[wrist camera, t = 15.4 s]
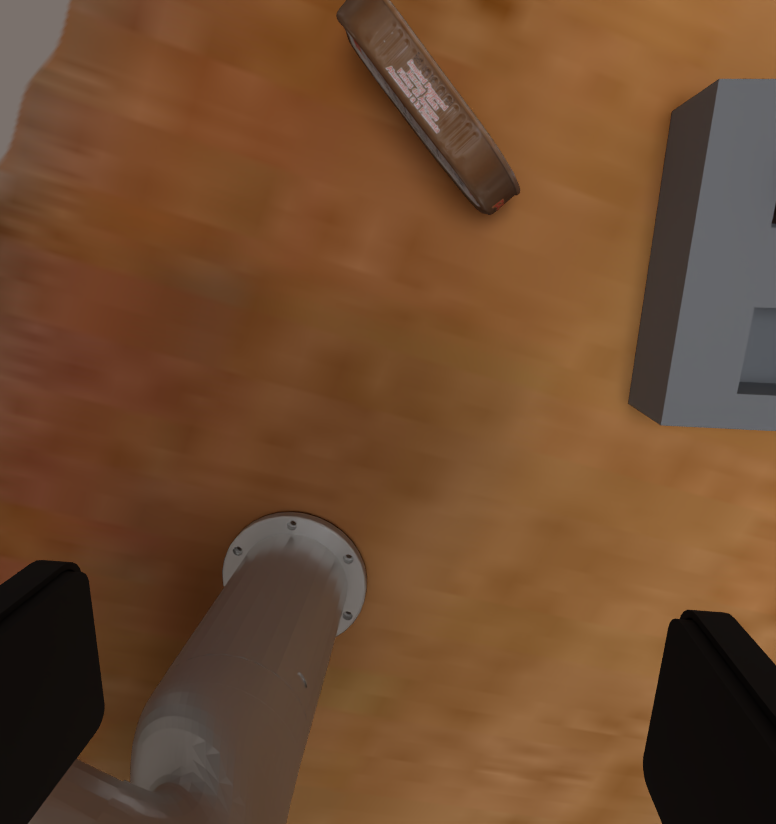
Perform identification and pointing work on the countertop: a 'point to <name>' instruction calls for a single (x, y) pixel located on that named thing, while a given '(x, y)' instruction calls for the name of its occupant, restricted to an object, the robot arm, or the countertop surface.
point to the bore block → (713, 266)
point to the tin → (429, 102)
